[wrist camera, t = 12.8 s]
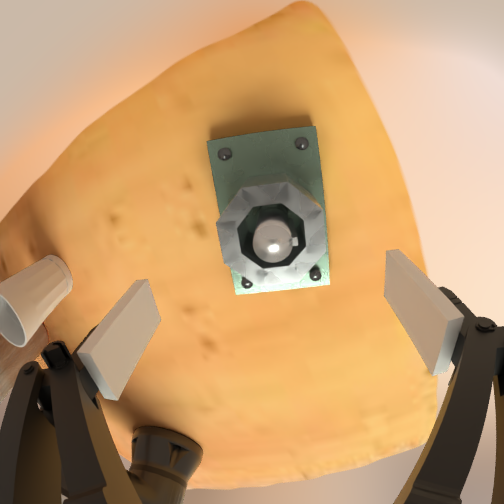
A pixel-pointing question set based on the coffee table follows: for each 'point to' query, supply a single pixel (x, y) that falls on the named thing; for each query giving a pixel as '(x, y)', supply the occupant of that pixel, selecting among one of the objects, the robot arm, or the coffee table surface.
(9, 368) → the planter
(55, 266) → the cup
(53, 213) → the coffee table surface
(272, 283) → the ring
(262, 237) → the shaft stand
